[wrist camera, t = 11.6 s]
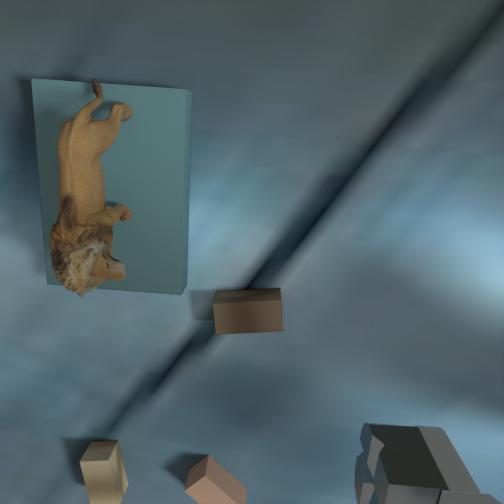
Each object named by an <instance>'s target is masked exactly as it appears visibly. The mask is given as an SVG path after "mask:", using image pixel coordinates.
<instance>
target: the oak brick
mask: <svg viewBox="0 0 504 504" xmlns="http://www.w3.org/2000/svg"><path fill="white" fill-rule="evenodd" d="M80 465H81V469H82V473H83V477H84V481H85V485H86V488H87V492H88V496H89V500H90V504H121V502H122V499H123V497H124V494H125V492H126V489H127V487H128V482H127V477H126V473H125V468H124V464H123V460H122V455H121V451H120V446H119V442H118V440H115V441H96V442H91V443H90V444H89V446H88V448H87V450H86V451H85V453H84V455H83V457H82V458H81V460H80Z"/></svg>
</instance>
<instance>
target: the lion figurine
mask: <svg viewBox="0 0 504 504" xmlns="http://www.w3.org/2000/svg"><path fill="white" fill-rule="evenodd" d="M91 82H92V86H93V92H94V94H95V95H96V98H95V99H94V100H92V101H90V102H89V103H87V104H86V105H85V106H84V107H83V108H82V109H81V110H79V111H78V113H77V114H76V115H75V117H74V118H71V119H69V120H67V121H66V122H64V124H63V125H62V127H61V129H60V133H59V136H58V140H57V146H56V149H57V155H58V160H59V185H58V192H59V213H58V217H57V220H56V223H55V224H53V226H52V229H51V231H50V236H51V238H50V240H49V241H50V244H51V245H50V249H51V251H50V257H51V263H52V269H53V270H54V271H55V277H56V279H57V280H58V281H59V283H60V284H62V285H64V286H65V287H66V288H67V289H68V290H71V291H74V292H78V294H79V296H80V297H82V296H83V294H85V293H88V292H89V291H91V290H93V289H95V288H97V287H98V285H99V284H102V283H103V282H104V281H106V280H112V281H119V280H122V279H124V277H125V275H126V271H125V265H124V264H123V263H122V262H121V261H119V260H117V259H115V258H113V251H112V247H111V243H112V242H113V230H112V227H113V226H114V225H115V224H116V223H117V222H118V221H119V220H122V221H124V222H125V221H126V220H129V219H130V217H131V216H132V212H131V211H130V209H129V208H127V207H126V206H125V205H120V204H117V205H115V206H114V207H110V206H108V205H105V180H104V173H103V169H102V166H101V163H100V158H101V155H102V154H103V153H104V152H105V151H107V150H108V149H109V148H110V147H111V146H112V144H113V143H114V141H115V139H116V138H117V136H118V133H119V129H120V123H121V121H126V120H129V118H130V117H131V116H132V111H131V108H130V106H129V105H127V104H125V103H122V102H117V103H115V104H113V105H112V109H111V113H110V115H109V116H108V117H107V118H106V119H104V120H91V117H90V114H91V113H92V112H93V111H94V110H96V109H97V108H98V107H99V106H100V104H101V103H102V102H103V99H104V96H103V93H102V88H103V87H102V85H101V84H100V82H99V81H98V80H97V79H92V80H91Z"/></svg>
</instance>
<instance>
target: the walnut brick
mask: <svg viewBox="0 0 504 504" xmlns="http://www.w3.org/2000/svg"><path fill="white" fill-rule="evenodd" d="M213 311H214V320H215V329H216V335H218V334H237V333H256V332H275V331H283V323H282V307H281V293H280V288H271V289H254V290H236V291H219V292H216V295H215V298H214V301H213Z"/></svg>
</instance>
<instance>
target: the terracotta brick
mask: <svg viewBox="0 0 504 504" xmlns="http://www.w3.org/2000/svg"><path fill="white" fill-rule="evenodd" d="M185 492H186V493H187V494H188V495H189V496H191V497H192V498H193V499H194V500H195V501H196V502H198V503H199V504H246V496H247V488H246V487H244V486H243V485H242V484H241V483H240V482H239V481H238V480H237V479H235V478H234V477H233V476H232V475H231V474H230V473H229V472H228V471H227V470H225V469H224V468H223V467H222V466H221V465H220V464H219V463H218V462H216V461H215V460H214V459H213V458H212V457H211V456H210V455H208V456H207V457H205V458H204V459H203V460H201V461H200V462H199V463H197V464H196V465H195V466H193V467H192V468H191V469H189V473H188V478H187V482H186V486H185Z"/></svg>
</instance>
